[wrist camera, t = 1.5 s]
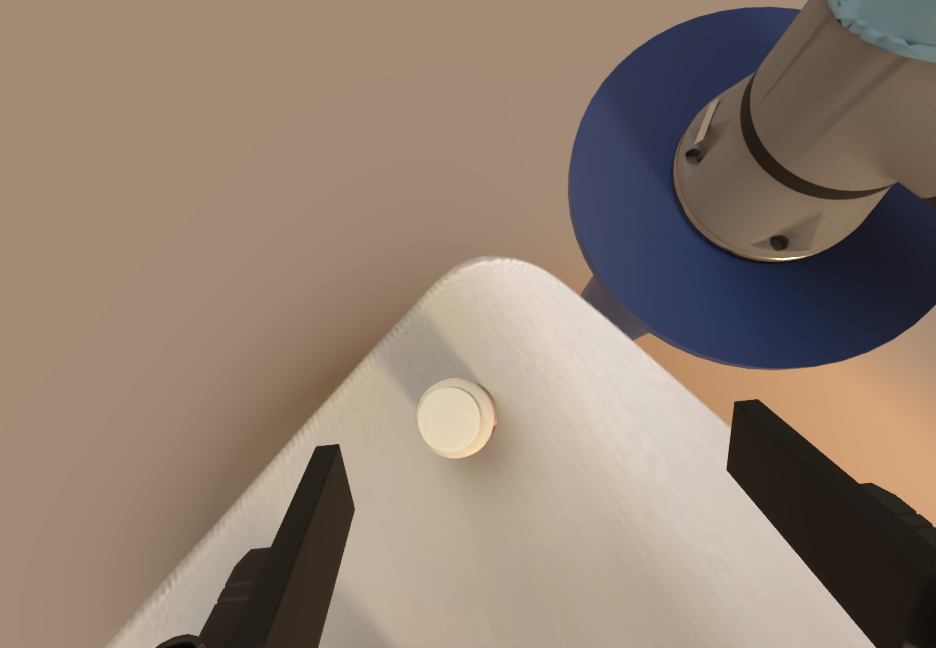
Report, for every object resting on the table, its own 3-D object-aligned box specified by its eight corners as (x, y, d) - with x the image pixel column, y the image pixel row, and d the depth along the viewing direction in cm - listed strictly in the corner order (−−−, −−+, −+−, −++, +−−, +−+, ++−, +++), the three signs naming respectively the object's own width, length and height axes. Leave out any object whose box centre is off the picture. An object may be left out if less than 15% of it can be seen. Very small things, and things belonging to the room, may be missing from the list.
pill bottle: (512, 416, 38) (511, 423, 28) (463, 462, 37) (446, 484, 28) (466, 367, 38) (451, 357, 29) (419, 411, 38) (388, 416, 29)
